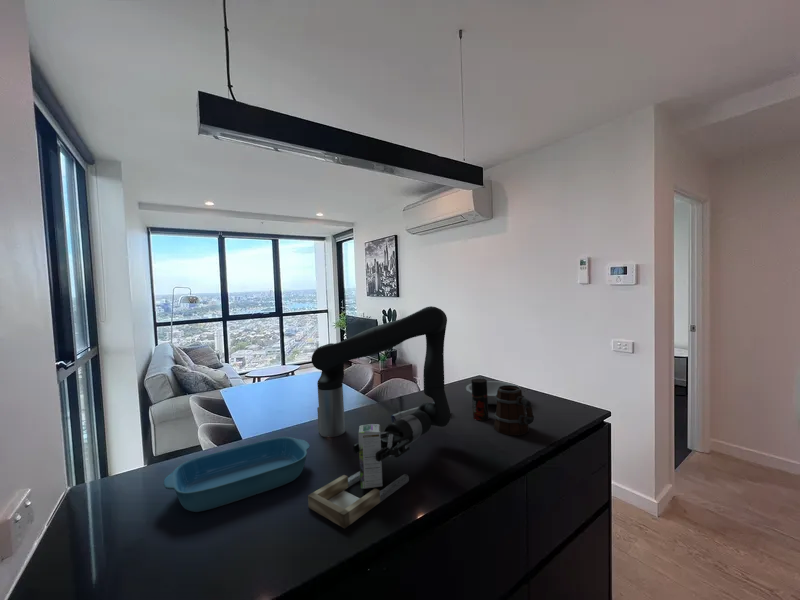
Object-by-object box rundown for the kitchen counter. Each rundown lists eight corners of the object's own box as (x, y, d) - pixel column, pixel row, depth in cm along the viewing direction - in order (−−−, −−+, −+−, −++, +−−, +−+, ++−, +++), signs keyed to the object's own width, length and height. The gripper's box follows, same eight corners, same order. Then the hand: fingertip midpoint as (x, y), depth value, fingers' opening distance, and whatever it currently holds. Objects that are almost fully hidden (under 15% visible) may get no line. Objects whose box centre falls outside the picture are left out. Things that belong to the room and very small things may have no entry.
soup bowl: (480, 414, 141) (479, 398, 141) (458, 397, 164) (458, 383, 164) (532, 407, 146) (532, 391, 146) (504, 392, 169) (504, 378, 169)
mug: (487, 428, 126) (485, 387, 126) (510, 420, 132) (508, 381, 132) (522, 442, 112) (520, 397, 112) (546, 433, 118) (544, 390, 118)
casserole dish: (297, 450, 116) (296, 429, 116) (322, 477, 97) (321, 452, 97) (165, 490, 95) (163, 464, 95) (165, 534, 77) (163, 502, 76)
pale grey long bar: (389, 413, 137) (442, 394, 147) (392, 429, 137) (444, 409, 147) (394, 417, 132) (448, 397, 142) (397, 433, 132) (451, 412, 143)
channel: (374, 467, 101) (373, 462, 101) (408, 481, 93) (408, 475, 93) (344, 485, 92) (344, 480, 92) (380, 502, 84) (379, 496, 84)
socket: (344, 485, 92) (343, 474, 92) (380, 502, 84) (379, 490, 84) (308, 507, 83) (308, 495, 83) (344, 528, 75) (343, 515, 75)
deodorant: (491, 417, 136) (489, 379, 136) (483, 421, 132) (482, 383, 132) (477, 414, 140) (476, 377, 140) (470, 418, 136) (468, 381, 136)
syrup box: (361, 477, 94) (358, 425, 93) (382, 475, 94) (379, 423, 94) (360, 489, 88) (357, 433, 88) (383, 486, 88) (380, 431, 88)
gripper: (385, 414, 106) (345, 433, 94) (422, 423, 97) (384, 445, 85) (386, 438, 107) (347, 460, 94) (424, 449, 98) (386, 475, 85)
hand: (365, 453), depth 89 cm, fingers closed on syrup box, 8 cm apart
